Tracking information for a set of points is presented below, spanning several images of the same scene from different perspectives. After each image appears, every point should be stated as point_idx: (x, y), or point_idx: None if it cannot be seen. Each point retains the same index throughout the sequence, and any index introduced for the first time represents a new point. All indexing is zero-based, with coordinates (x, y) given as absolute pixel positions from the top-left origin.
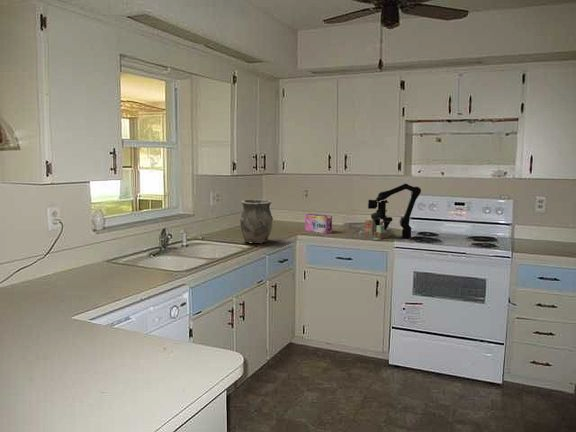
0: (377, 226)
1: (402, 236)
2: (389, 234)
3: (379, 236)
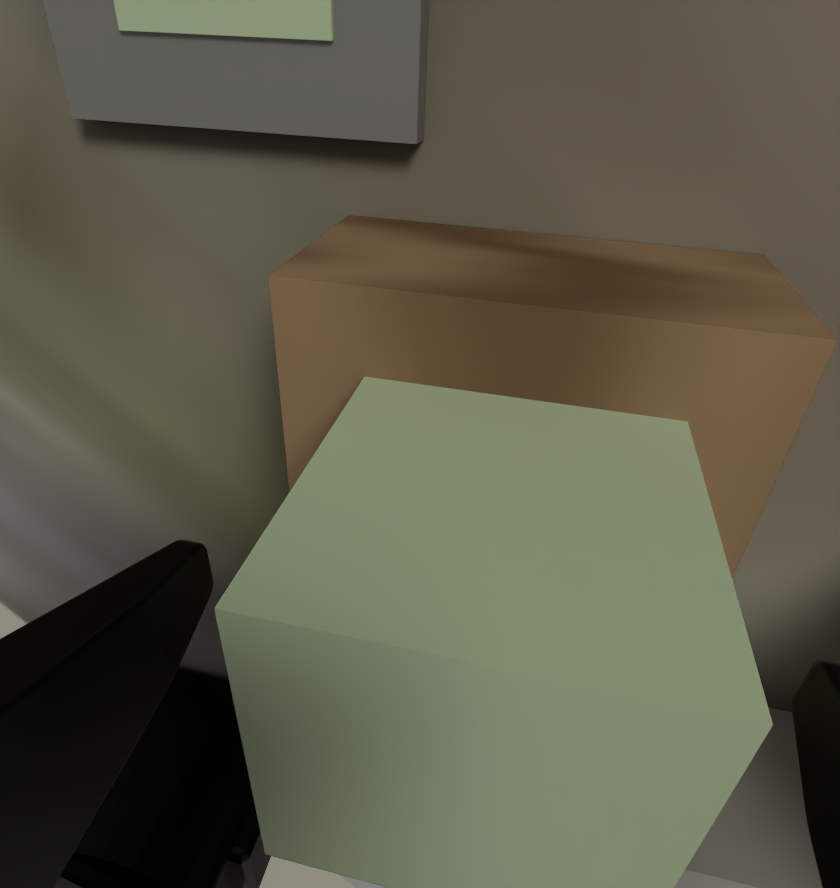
0: (632, 638)
1: None
2: None
3: (363, 239)
